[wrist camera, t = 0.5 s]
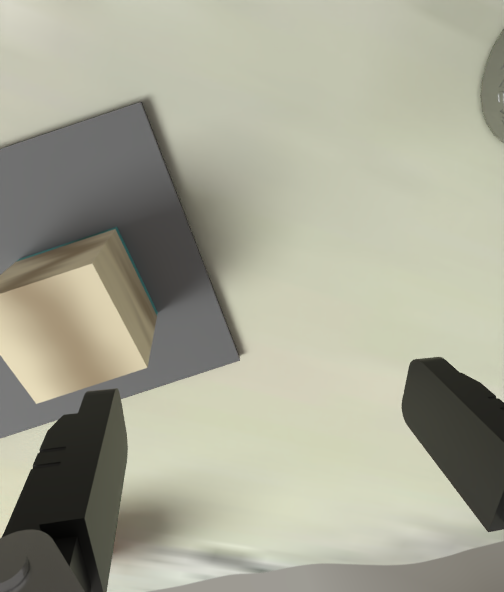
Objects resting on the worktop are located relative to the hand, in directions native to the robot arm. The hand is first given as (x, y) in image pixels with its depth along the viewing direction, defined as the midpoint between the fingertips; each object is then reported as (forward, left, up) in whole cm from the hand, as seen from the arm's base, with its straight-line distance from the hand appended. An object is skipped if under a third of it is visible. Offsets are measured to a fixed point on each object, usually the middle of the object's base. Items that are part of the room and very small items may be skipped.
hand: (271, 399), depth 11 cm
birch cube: (+11, +1, -18) cm, 21 cm away
